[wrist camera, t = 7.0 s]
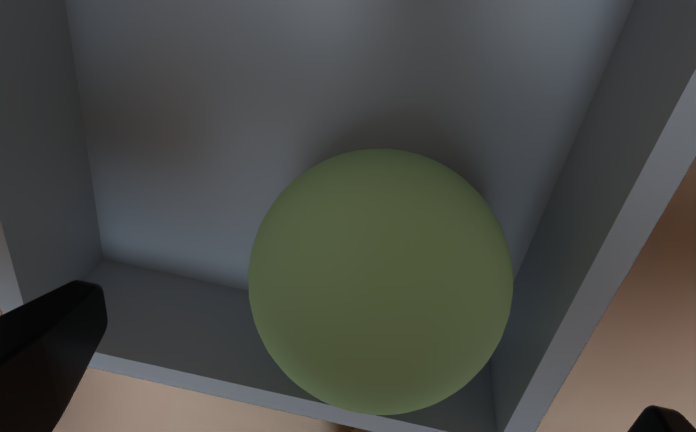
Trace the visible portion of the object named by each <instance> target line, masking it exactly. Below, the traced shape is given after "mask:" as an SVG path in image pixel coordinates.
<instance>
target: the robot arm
mask: <svg viewBox="0 0 696 432" xmlns="http://www.w3.org/2000/svg"><path fill="white" fill-rule="evenodd" d="M107 324H108V316H107V310H106V303H105V297H104V291H103V288H102V287H101V285H99V284H97V283H93V282H88V281H84V280H74V281H71V282H69V283H67V284H65V285H62V286H60V287H58V288H56V289H54V290H52V291H50V292H48V293H46V294H44V295H42V296H40V297H38V298H36V299H33V300H31V301H29V302H27V303H25V304H23V305H21V306H19V307H17V308H15V309H13V310H11V311H9V312H7V313H5V314H2V315H0V432H52V431H53V429H54V428H55V426H56V425H57V423H58V421H59V420H60V418H61V416H62V415H63V413H64V411H65V409H66V407H67V406H68V404H69V402H70V400H71V398H72V396H73V394H74V392H75V390H76V388H77V386H78V384H79V382H80V381H81V379H82V377H83V375H84V373H85V371H86V369H87V367H88V365H89V363H90V361H91V359H92V357H93V355H94V353H95V351H96V349H97V347H98V345H99V343H100V341H101V340H102V338H103V336H104V334H105V331H106V328H107ZM628 432H696V429H695V428H694V427H693V426H692V425H691V423H690V422H689V421H688V420H687V419H686V418H685V417H684V416H683V415H682V414H680V413H679V412H678V411H675V410H672V409H668V408H663V407H659V406H654V405H651V406H649V407H646V408H645V409H644V410H643V412H642V413H641V414H640V416H639V417H638V418H637V420H636V421H635V422H634V424H633V425H632V426H631V428H630V429H629V430H628Z"/></svg>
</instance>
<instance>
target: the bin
mask: <svg viewBox="0 0 696 432" xmlns="http://www.w3.org/2000/svg"><path fill="white" fill-rule="evenodd" d="M373 148H374V149H395V150H402V151H408V152H411V153H415V154H419V155H422V156H425V157H428V158H430V159H433V160H435V161H437V162H439V163H441V164H443V165H445V166H446V167H448V168H450V169H452V170H453V171H454V172H456V173H457V174H458V175H460V176H461V177H463V178H464V179H465V180H466V181H467V182H468V183H469V184H470V185H471V186H472V187H473V188H474V189H476V190H477V191H478V192H479V193H480V195H481V196H482V197H483V199H484V200H485V201H486V202H487V204H488V205H489V206H490V208H491V210H492V211H493V213H494V215H495V217H496V218H497V220H498V222H499V224H500V225H501V228H502V230H503V233H504V236H505V238H506V241H507V244H508V247H509V251H510V256H511V261H512V270H513V295H512V303H511V309H510V315H509V318H508V321H507V324H506V327H505V329H504V332H503V335H502V338H501V340H500V342H499V344H498V345H497V347H496V349H495V351H494V352H493V354H492V356H491V357H490V359H489V360H488V362H487V363H486V364H485V365H484V367H483V368H482V369H481V370H480V371H479V372H478V373H477V374H476V375H475V376H474V377H473V378H472V379H471V380H470V381H469V382H468V383H467V384H466V385H465V386H464V387H462V388H461V389H459V390H458V391H457V392H455V393H454V394H452V395H450V396H449V397H447V398H445V399H444V400H442V401H440V402H438V403H436V404H433V405H431V406H428V407H426V408H422V409H419V410H415V411H411V412H408V413H402V414H395V415H369V414H361V413H355V412H351V411H347V410H343V409H340V408H337V407H335V406H332V405H330V404H327V403H325V402H323V401H321V400H319V399H318V398H316V397H314V396H312V395H311V394H309V393H308V392H307V391H305V390H304V389H302V388H301V387H300V386H298V385H297V384H296V383H295V382H293V381H292V380H291V379H290V378H289V377H288V376H287V375H286V374H285V373H284V372H283V371H282V369H281V368H280V367H279V366H278V365H277V363H276V362H275V361H274V359H273V358H272V357H271V355H270V354H269V352H268V350H267V349H266V347H265V345H264V343H263V341H262V339H261V337H260V335H259V333H258V330H257V327H256V325H255V322H254V318H253V314H252V310H251V305H250V300H249V285H248V270H249V263H250V257H251V251H252V247H253V243H254V240H255V237H256V234H257V232H258V229H259V227H260V225H261V223H262V221H263V219H264V217H265V215H266V213H267V212H268V210H269V209H270V207H271V206H272V204H273V203H274V201H275V200H276V199H277V197H278V196H279V195H280V193H281V192H282V191H283V190H285V189H286V188H287V187H288V186H289V185H290V184H291V183H292V182H293V181H294V180H295V179H296V178H297V177H299V176H300V175H301V174H303V173H304V172H305V171H307V170H308V169H310V168H312V167H313V166H315V165H317V164H319V163H321V162H323V161H325V160H327V159H329V158H332V157H335V156H337V155H340V154H343V153H347V152H352V151H356V150H364V149H373ZM695 157H696V0H0V308H1V311H2V314H5V313H7V312H9V311H11V310H13V309H15V308H17V307H19V306H21V305H23V304H25V303H27V302H29V301H31V300H33V299H36V298H38V297H40V296H42V295H44V294H46V293H48V292H50V291H52V290H54V289H56V288H58V287H60V286H62V285H65V284H67V283H69V282H71V281H74V280H84V281H88V282H93V283H97V284H99V285H101V287H102V288H103V291H104V297H105V303H106V310H107V316H108V324H107V328H106V331H105V334H104V336H103V338H102V340H101V341H100V343H99V345H98V347H97V349H96V351H95V353H94V355H93V357H92V359H91V361H90V363H89V365H88V367H90V368H95V369H99V370H103V371H108V372H112V373H117V374H121V375H125V376H130V377H134V378H139V379H143V380H147V381H152V382H156V383H161V384H165V385H170V386H174V387H178V388H183V389H187V390H192V391H196V392H200V393H205V394H209V395H214V396H218V397H222V398H227V399H231V400H236V401H240V402H244V403H249V404H253V405H258V406H262V407H266V408H271V409H275V410H280V411H284V412H289V413H293V414H297V415H302V416H306V417H311V418H315V419H319V420H324V421H328V422H333V423H337V424H341V425H346V426H350V427H355V428H359V429H363V430H368V431H372V432H535V431H536V429H537V427H538V426H539V424H540V422H541V420H542V419H543V417H544V415H545V414H546V412H547V410H548V408H549V407H550V405H551V403H552V402H553V400H554V398H555V397H556V395H557V393H558V391H559V390H560V388H561V386H562V385H563V383H564V381H565V379H566V378H567V376H568V374H569V373H570V371H571V369H572V367H573V366H574V364H575V362H576V361H577V359H578V357H579V355H580V354H581V352H582V350H583V349H584V347H585V345H586V344H587V342H588V340H589V338H590V337H591V335H592V333H593V332H594V330H595V328H596V326H597V325H598V323H599V321H600V320H601V318H602V316H603V314H604V313H605V311H606V309H607V308H608V306H609V304H610V302H611V301H612V299H613V297H614V296H615V294H616V292H617V290H618V289H619V287H620V285H621V284H622V282H623V280H624V279H625V277H626V275H627V273H628V272H629V270H630V268H631V267H632V265H633V263H634V261H635V260H636V258H637V256H638V255H639V253H640V251H641V249H642V248H643V246H644V244H645V243H646V241H647V239H648V237H649V236H650V234H651V232H652V231H653V229H654V227H655V225H656V224H657V222H658V220H659V219H660V217H661V215H662V214H663V212H664V210H665V208H666V207H667V205H668V203H669V202H670V200H671V198H672V196H673V195H674V193H675V191H676V190H677V188H678V186H679V184H680V183H681V181H682V179H683V178H684V176H685V174H686V172H687V171H688V169H689V167H690V166H691V164H692V162H693V161H694V159H695Z"/></svg>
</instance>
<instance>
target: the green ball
mask: <svg viewBox="0 0 696 432" xmlns="http://www.w3.org/2000/svg"><path fill="white" fill-rule="evenodd" d="M248 285H249V300H250V305H251V310H252V314H253V318H254V322H255V325H256V327H257V330H258V333H259V335H260V337H261V339H262V341H263V343H264V345H265V347H266V349H267V350H268V352H269V354H270V355H271V357H272V358H273V359H274V361H275V362H276V363H277V365H278V366H279V367H280V368H281V369H282V371H283V372H284V373H285V374H286V375H287V376H288V377H289V378H290V379H291V380H292V381H293V382H295V383H296V384H297V385H298V386H300V387H301V388H302V389H304V390H305V391H307V392H308V393H309V394H311V395H312V396H314V397H316V398H318V399H319V400H321V401H323V402H325V403H327V404H330V405H332V406H335V407H337V408H340V409H343V410H347V411H351V412H355V413H361V414H369V415H395V414H402V413H408V412H411V411H415V410H419V409H422V408H426V407H428V406H431V405H433V404H436V403H438V402H440V401H442V400H444V399H445V398H447V397H449V396H450V395H452V394H454V393H455V392H457V391H458V390H459V389H461V388H462V387H464V386H465V385H466V384H467V383H468V382H469V381H470V380H471V379H472V378H473V377H474V376H475V375H476V374H477V373H478V372H479V371H480V370H481V369H482V368H483V367H484V365H485V364H486V363H487V362H488V360H489V359H490V357H491V356H492V354H493V352H494V351H495V349H496V347H497V345H498V344H499V342H500V340H501V338H502V335H503V332H504V329H505V327H506V324H507V321H508V318H509V315H510V309H511V303H512V295H513V270H512V261H511V256H510V251H509V247H508V244H507V241H506V238H505V236H504V233H503V230H502V228H501V225H500V224H499V222H498V220H497V218H496V217H495V215H494V213H493V211H492V210H491V208H490V206H489V205H488V204H487V202H486V201H485V200H484V199H483V197H482V196H481V195H480V193H479V192H478V191H477V190H476V189H474V188H473V187H472V186H471V185H470V184H469V183H468V182H467V181H466V180H465V179H464V178H463V177H461V176H460V175H458V174H457V173H456V172H454V171H453V170H452V169H450V168H448V167H446V166H445V165H443V164H441V163H439V162H437V161H435V160H433V159H430V158H428V157H425V156H422V155H419V154H415V153H411V152H408V151H402V150H395V149H374V148H373V149H364V150H356V151H352V152H347V153H343V154H340V155H337V156H335V157H332V158H329V159H327V160H325V161H323V162H321V163H319V164H317V165H315V166H313V167H312V168H310V169H308V170H307V171H305V172H304V173H303V174H301V175H300V176H299V177H297V178H296V179H295V180H294V181H293V182H292V183H291V184H290V185H289V186H288V187H287V188H286V189H285V190H283V191H282V192H281V193H280V195H279V196H278V197H277V199H276V200H275V201H274V203H273V204H272V206H271V207H270V209H269V210H268V212H267V213H266V215H265V217H264V219H263V221H262V223H261V225H260V227H259V229H258V232H257V234H256V237H255V240H254V243H253V247H252V251H251V257H250V263H249V270H248Z"/></svg>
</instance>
